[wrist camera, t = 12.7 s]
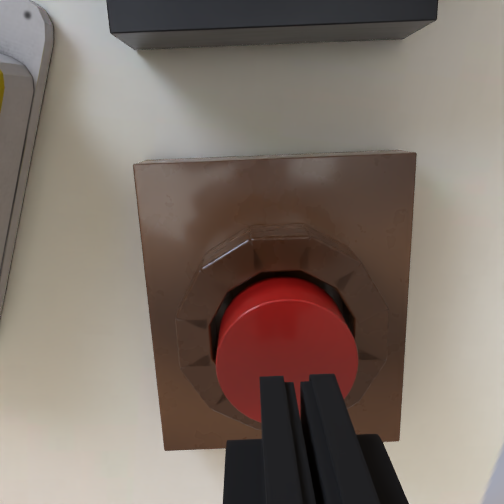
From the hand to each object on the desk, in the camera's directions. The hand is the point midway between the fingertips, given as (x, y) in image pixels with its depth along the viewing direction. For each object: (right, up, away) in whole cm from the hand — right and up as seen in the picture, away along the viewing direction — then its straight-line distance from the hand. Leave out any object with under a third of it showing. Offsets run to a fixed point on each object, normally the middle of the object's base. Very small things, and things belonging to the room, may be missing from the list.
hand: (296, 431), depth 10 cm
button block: (0, +2, +9) cm, 9 cm away
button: (0, +1, +6) cm, 6 cm away
